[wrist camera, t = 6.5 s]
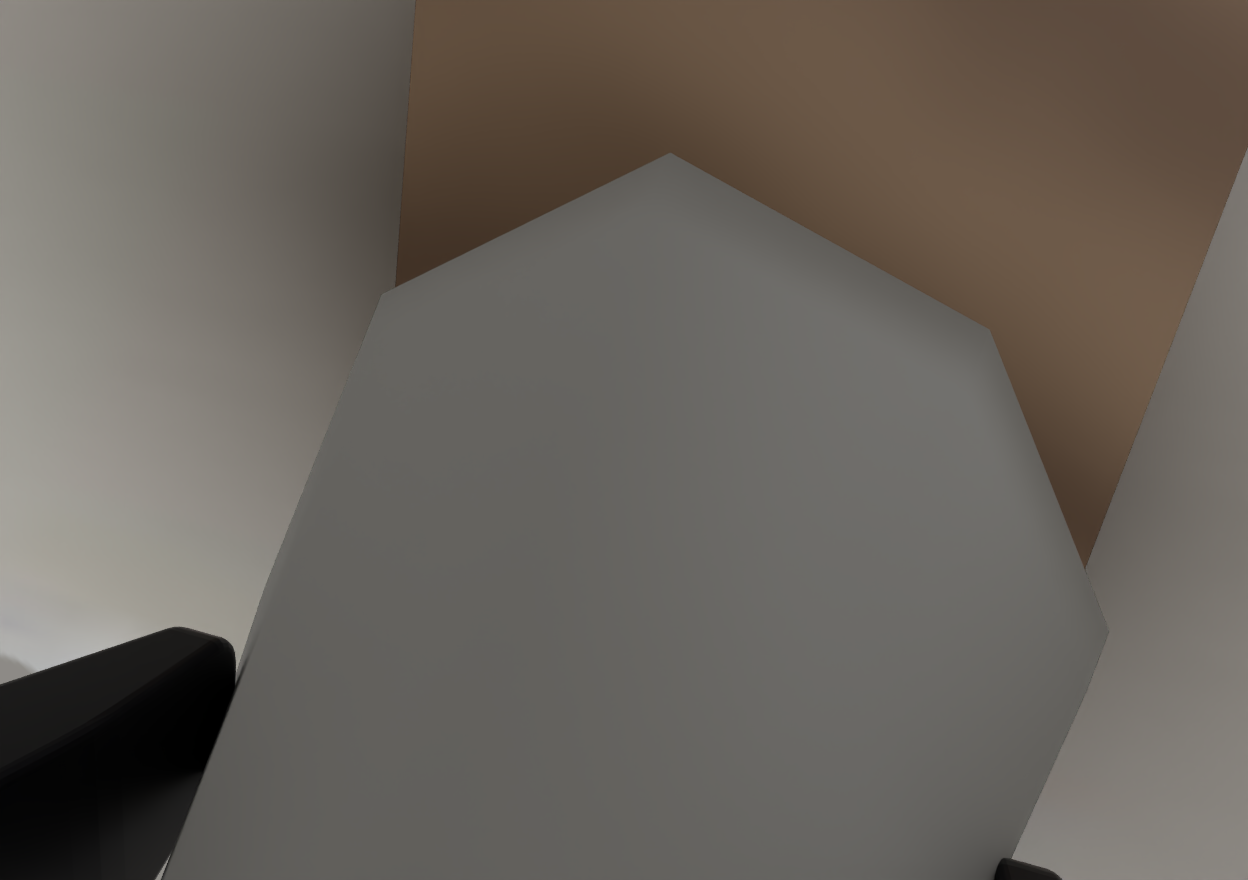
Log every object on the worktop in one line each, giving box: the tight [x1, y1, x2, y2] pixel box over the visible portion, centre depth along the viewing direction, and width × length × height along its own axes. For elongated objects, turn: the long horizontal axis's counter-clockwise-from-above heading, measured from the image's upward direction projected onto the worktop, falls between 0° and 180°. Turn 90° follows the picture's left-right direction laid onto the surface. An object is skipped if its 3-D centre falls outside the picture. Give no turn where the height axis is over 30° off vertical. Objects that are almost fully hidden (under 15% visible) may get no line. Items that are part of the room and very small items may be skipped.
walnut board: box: [395, 0, 1248, 569], centre depth 18 cm, size 18×12×1 cm, turn 171°
